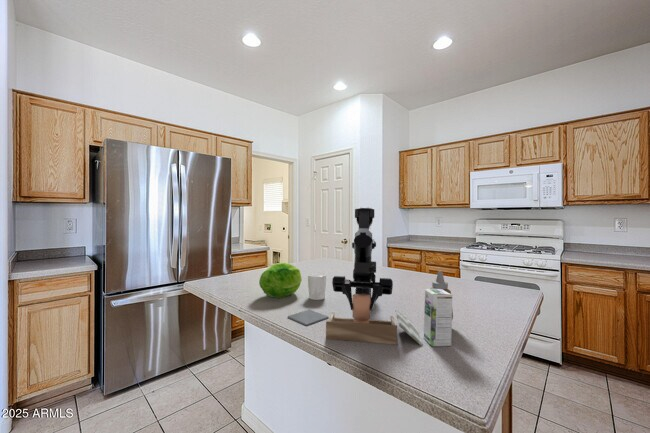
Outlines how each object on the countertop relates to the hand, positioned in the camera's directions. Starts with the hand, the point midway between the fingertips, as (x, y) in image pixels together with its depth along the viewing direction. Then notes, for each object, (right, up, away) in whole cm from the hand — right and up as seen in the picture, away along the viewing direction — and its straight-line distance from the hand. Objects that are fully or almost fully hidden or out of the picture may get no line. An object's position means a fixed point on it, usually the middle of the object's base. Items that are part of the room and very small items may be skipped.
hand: (361, 310), depth 85 cm
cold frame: (+4, -8, +2) cm, 9 cm away
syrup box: (+21, -8, -4) cm, 23 cm away
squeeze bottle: (+26, -8, +7) cm, 28 cm away
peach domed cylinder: (0, -7, +1) cm, 7 cm away
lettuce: (-30, -7, +39) cm, 50 cm away
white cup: (-14, -7, +36) cm, 40 cm away
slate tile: (-17, -7, +13) cm, 22 cm away
